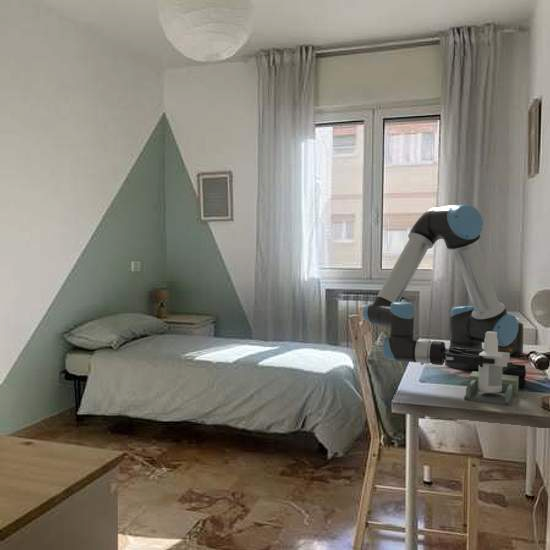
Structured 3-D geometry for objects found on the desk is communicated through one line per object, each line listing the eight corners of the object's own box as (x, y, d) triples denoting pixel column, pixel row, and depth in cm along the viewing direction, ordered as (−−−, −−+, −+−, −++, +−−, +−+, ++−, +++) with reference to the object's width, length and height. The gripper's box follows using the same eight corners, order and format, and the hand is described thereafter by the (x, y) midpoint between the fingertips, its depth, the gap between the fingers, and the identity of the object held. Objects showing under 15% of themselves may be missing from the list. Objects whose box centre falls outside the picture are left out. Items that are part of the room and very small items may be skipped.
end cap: (502, 380, 189) (502, 361, 188) (524, 382, 186) (525, 362, 186) (501, 387, 180) (502, 367, 179) (525, 390, 177) (525, 369, 176)
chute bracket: (472, 384, 183) (473, 371, 183) (518, 389, 177) (518, 376, 176) (462, 399, 166) (462, 384, 166) (512, 405, 160) (512, 390, 159)
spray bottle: (500, 394, 164) (501, 334, 163) (476, 391, 167) (477, 333, 166) (503, 389, 170) (504, 331, 169) (479, 386, 173) (481, 329, 172)
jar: (524, 356, 227) (525, 320, 226) (494, 354, 231) (495, 319, 230) (521, 351, 238) (522, 316, 237) (492, 349, 242) (493, 315, 241)
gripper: (437, 358, 185) (511, 365, 174) (423, 370, 168) (504, 379, 157) (438, 336, 185) (511, 342, 174) (424, 346, 167) (505, 353, 156)
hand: (508, 359), depth 165 cm, fingers closed on spray bottle, 7 cm apart
